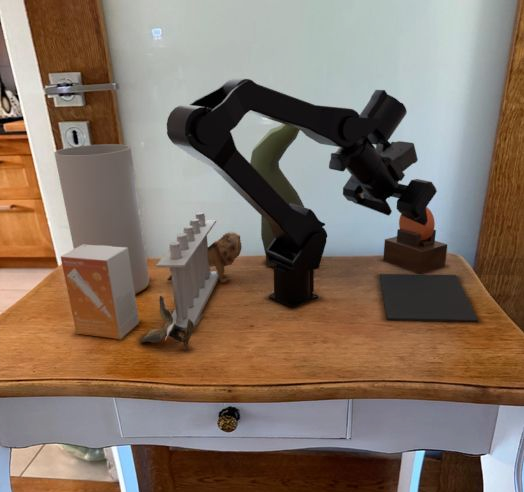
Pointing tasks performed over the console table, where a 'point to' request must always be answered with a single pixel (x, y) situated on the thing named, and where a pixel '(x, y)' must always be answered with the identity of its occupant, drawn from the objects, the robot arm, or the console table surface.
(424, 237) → the disc
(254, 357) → the console table surface
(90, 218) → the cylinder vase
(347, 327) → the console table surface
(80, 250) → the small box
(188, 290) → the test tube rack
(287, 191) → the tentacle
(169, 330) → the eagle figurine
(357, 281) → the console table surface
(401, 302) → the mat
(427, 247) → the brown notched block
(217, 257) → the lion figurine
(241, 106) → the robot arm
